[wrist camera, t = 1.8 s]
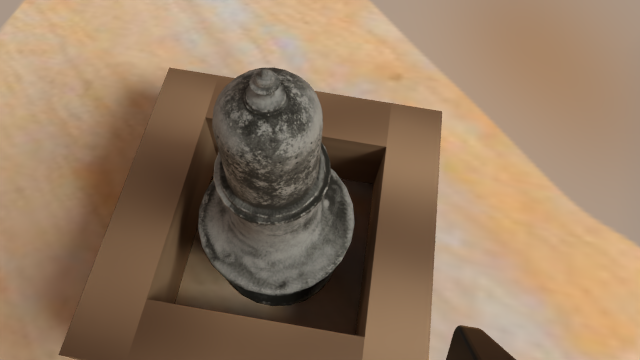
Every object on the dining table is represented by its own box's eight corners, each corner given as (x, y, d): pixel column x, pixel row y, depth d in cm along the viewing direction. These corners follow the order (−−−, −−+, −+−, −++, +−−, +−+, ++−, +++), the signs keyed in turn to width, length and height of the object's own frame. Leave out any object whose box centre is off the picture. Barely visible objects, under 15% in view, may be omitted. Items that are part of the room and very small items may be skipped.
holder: (402, 419, 18) (425, 420, 15) (98, 364, 19) (58, 354, 15) (422, 151, 24) (442, 111, 20) (185, 113, 24) (169, 67, 21)
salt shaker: (189, 285, 20) (68, 137, 9) (244, 169, 23) (199, -50, 12) (320, 333, 19) (351, 235, 9) (362, 209, 22) (426, 15, 11)
